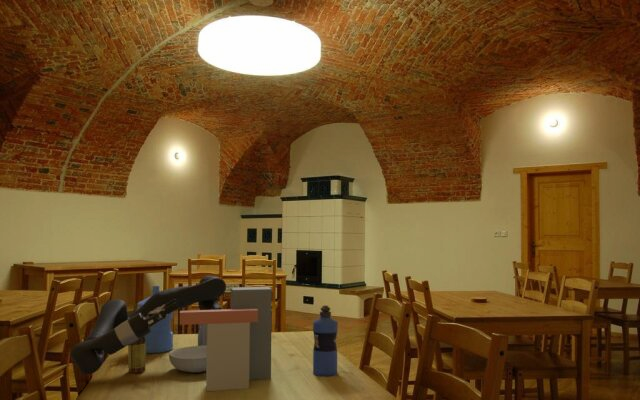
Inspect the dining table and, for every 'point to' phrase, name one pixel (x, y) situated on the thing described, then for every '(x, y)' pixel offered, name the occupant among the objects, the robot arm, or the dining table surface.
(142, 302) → the water jug
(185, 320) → the bar
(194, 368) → the serving bowl
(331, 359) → the water bottle
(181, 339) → the dining table surface
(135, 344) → the sauce bottle
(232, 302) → the stand
